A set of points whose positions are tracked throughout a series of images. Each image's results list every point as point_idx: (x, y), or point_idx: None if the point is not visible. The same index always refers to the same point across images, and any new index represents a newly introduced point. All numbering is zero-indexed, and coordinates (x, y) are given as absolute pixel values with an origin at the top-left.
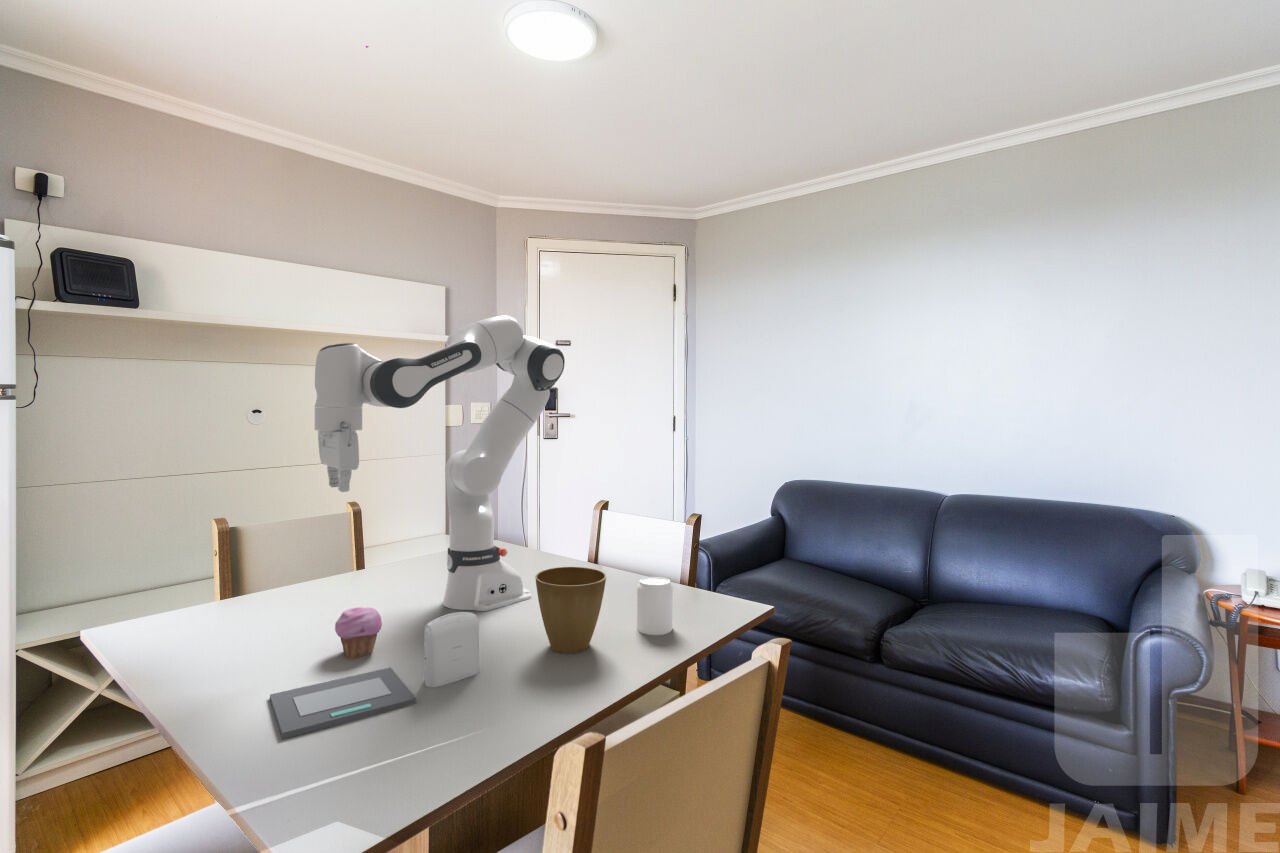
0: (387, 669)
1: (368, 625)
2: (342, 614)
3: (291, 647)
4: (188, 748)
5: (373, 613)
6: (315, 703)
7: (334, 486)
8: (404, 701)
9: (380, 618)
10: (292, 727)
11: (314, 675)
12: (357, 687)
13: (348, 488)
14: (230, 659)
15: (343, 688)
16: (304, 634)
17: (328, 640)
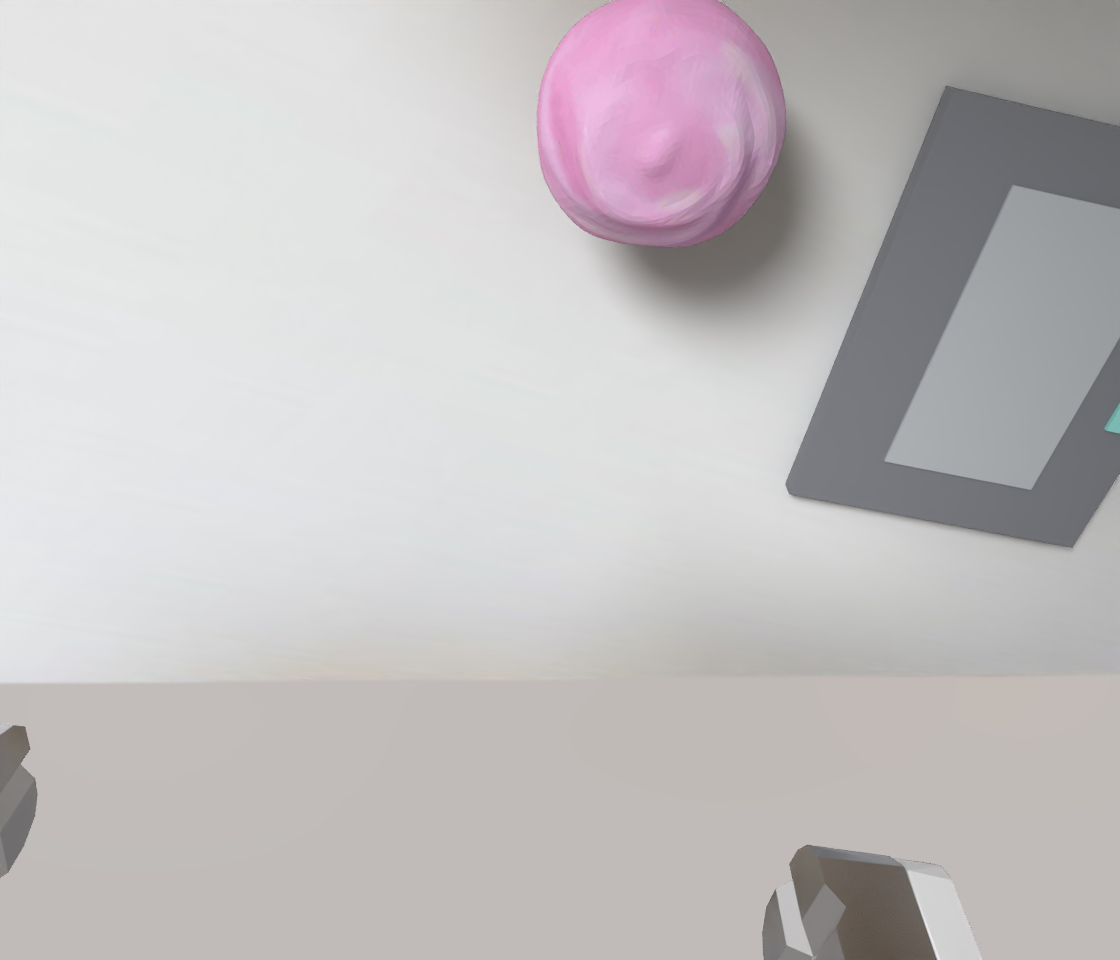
0: (963, 111)
1: (783, 131)
2: (628, 225)
3: (315, 269)
4: (890, 670)
5: (746, 80)
6: (994, 433)
7: (18, 780)
8: None
9: (739, 23)
10: (1068, 522)
11: (702, 318)
12: (1015, 289)
13: (958, 912)
14: (309, 463)
15: (973, 326)
16: (159, 160)
17: (325, 110)
